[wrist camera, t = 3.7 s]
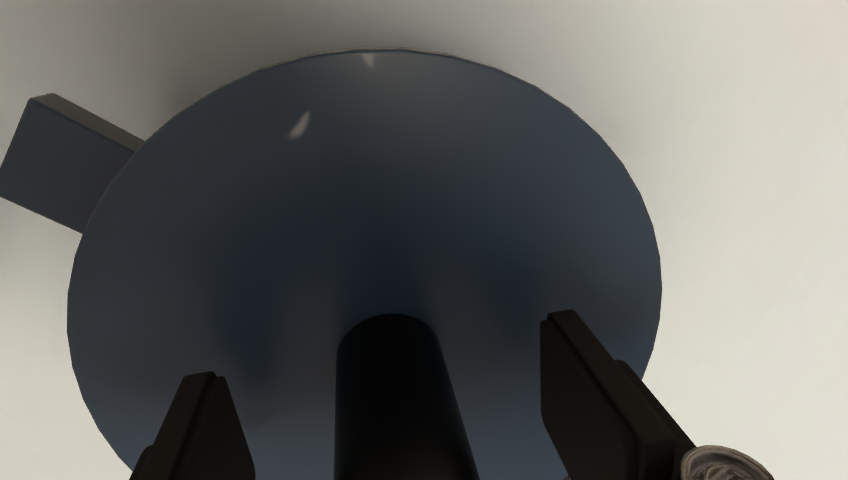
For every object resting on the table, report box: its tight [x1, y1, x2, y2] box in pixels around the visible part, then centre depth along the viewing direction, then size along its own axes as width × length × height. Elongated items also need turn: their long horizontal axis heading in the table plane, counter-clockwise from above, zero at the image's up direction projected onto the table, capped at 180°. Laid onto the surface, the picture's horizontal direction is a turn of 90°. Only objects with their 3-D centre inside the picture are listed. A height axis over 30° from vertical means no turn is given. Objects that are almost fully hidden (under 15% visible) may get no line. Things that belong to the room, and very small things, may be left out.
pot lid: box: [67, 48, 662, 480], centre depth 11 cm, size 14×14×6 cm
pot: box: [0, 93, 145, 234], centre depth 17 cm, size 13×19×8 cm
